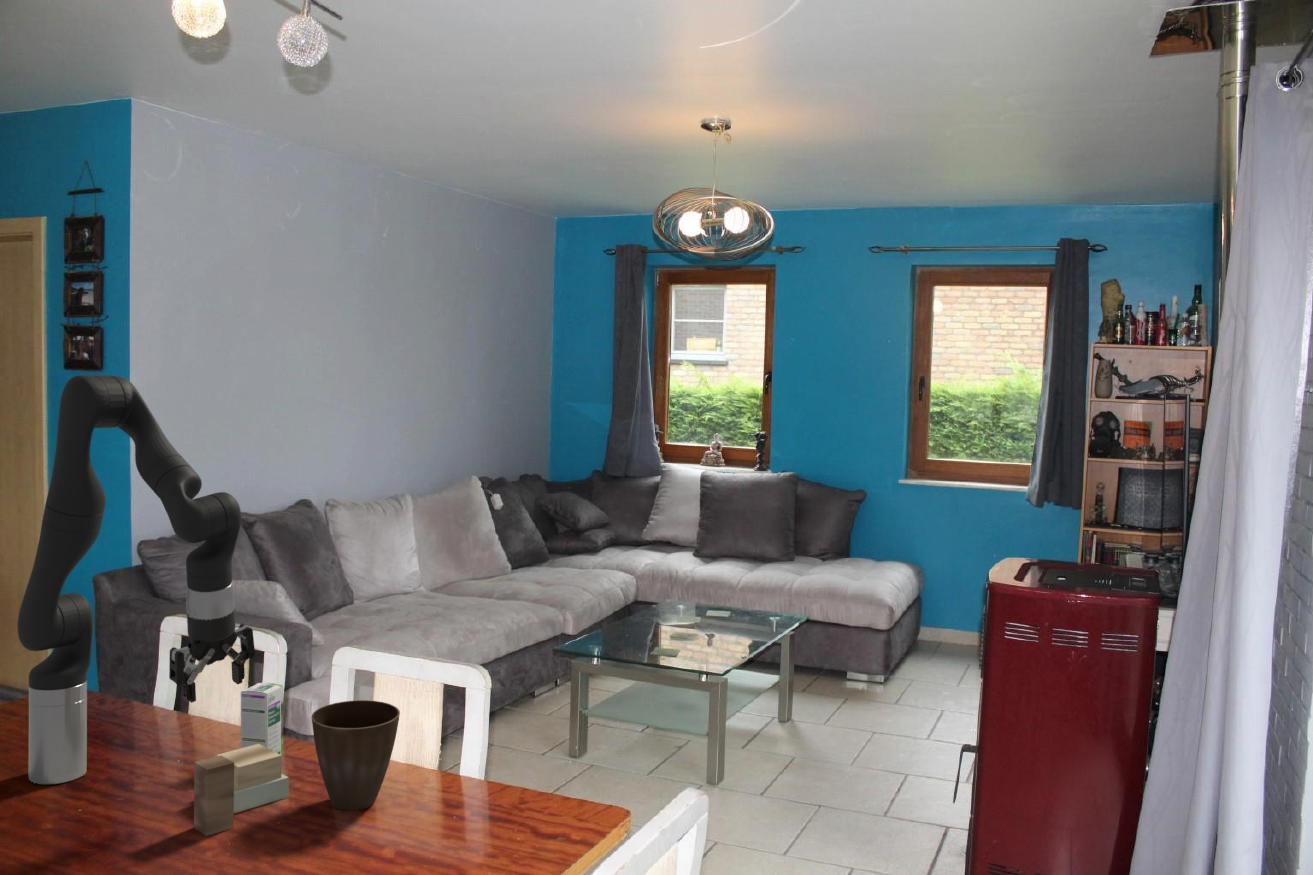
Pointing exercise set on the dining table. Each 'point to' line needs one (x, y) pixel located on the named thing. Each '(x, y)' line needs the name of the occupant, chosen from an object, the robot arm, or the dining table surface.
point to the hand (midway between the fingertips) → (214, 691)
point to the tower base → (261, 794)
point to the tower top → (254, 765)
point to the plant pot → (354, 749)
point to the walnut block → (213, 795)
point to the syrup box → (262, 716)
